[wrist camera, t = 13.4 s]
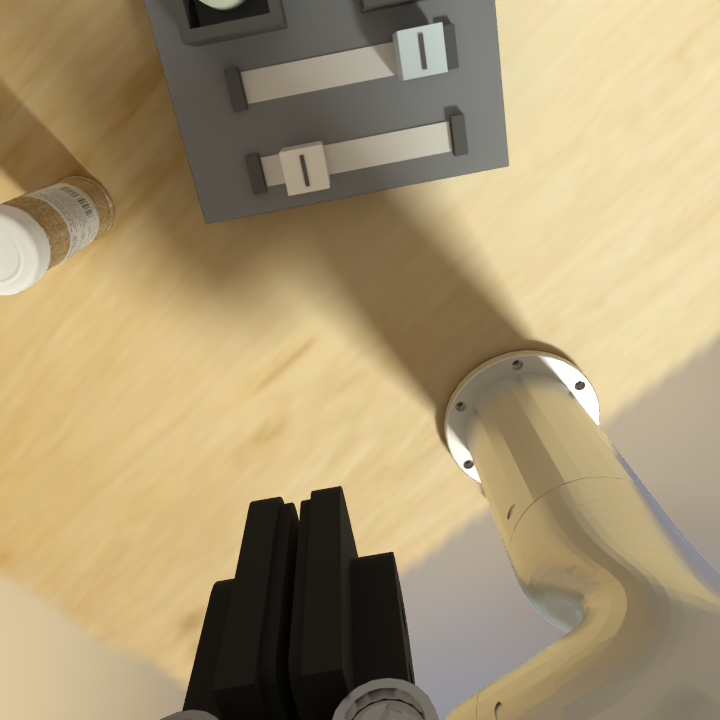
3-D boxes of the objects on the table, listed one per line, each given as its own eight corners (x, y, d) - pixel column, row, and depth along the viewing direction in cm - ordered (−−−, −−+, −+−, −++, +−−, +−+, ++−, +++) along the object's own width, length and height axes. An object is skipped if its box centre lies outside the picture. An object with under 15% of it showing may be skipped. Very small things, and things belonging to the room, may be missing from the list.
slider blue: (439, 72, 39) (448, 71, 36) (398, 80, 39) (403, 80, 36) (434, 26, 38) (442, 21, 35) (392, 34, 38) (396, 30, 35)
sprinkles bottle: (37, 190, 45) (-76, 231, 32) (95, 164, 44) (2, 195, 32) (73, 250, 46) (-21, 310, 34) (129, 225, 46) (54, 278, 34)
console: (494, 159, 45) (523, 173, 38) (216, 212, 46) (195, 235, 39) (469, -114, 39) (498, -156, 32) (146, -46, 39) (107, -74, 33)
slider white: (330, 181, 41) (329, 188, 38) (291, 188, 41) (288, 196, 38) (322, 140, 40) (321, 144, 37) (282, 148, 40) (278, 152, 37)
